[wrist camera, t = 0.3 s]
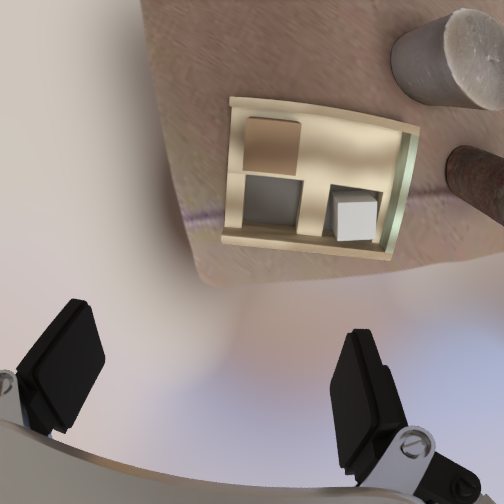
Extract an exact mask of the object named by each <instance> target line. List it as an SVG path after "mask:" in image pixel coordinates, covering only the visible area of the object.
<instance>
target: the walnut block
mask: <svg viewBox="0 0 504 504" xmlns="http://www.w3.org/2000/svg"><path fill="white" fill-rule="evenodd" d="M301 126H302V124H301V123H300V122H298V121H292V120H284V119H274V118H264V117H252V116H250V117H248V118H247V119H246V132H245V144H244V157H243V170H242V171H253V172H263V173H273V174H283V175H291V176H296V169H297V161H298V153H299V144H300V135H301Z"/></svg>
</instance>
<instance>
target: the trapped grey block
mask: <svg viewBox="0 0 504 504" xmlns="http://www.w3.org/2000/svg"><path fill="white" fill-rule="evenodd" d="M376 218H377V201H376V200H375V199H374V198H373V197H372V196H371V195H370V194H369V193H368V192H367V191H366V190H357V191H331V228H332V230H333V232H334V234H335V237H336V239H337V241H351V240H370V239H375V233H376Z"/></svg>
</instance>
